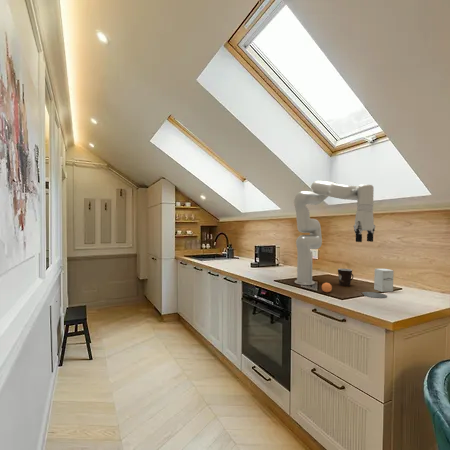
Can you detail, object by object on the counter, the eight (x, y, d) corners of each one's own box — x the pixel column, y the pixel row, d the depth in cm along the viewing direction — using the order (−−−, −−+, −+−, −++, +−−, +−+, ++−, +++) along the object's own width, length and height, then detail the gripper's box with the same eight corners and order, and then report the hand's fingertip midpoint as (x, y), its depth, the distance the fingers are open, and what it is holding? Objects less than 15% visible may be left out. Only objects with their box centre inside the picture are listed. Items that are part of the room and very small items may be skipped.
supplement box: (382, 292, 170) (382, 270, 170) (373, 289, 178) (374, 268, 177) (393, 291, 171) (394, 270, 171) (384, 288, 179) (385, 268, 179)
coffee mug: (336, 283, 193) (336, 268, 193) (350, 284, 191) (350, 268, 191) (339, 287, 182) (339, 271, 181) (354, 288, 180) (354, 271, 180)
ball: (321, 290, 171) (321, 281, 171) (330, 291, 170) (331, 282, 170) (322, 293, 166) (322, 283, 166) (332, 293, 164) (332, 283, 164)
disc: (358, 291, 170) (358, 291, 170) (382, 293, 168) (382, 292, 168) (364, 297, 158) (364, 296, 158) (390, 298, 155) (390, 298, 155)
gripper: (368, 209, 160) (367, 240, 160) (348, 208, 151) (347, 241, 151) (381, 209, 154) (380, 241, 154) (361, 207, 144) (361, 242, 145)
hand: (364, 241), depth 152 cm, fingers open, 9 cm apart
